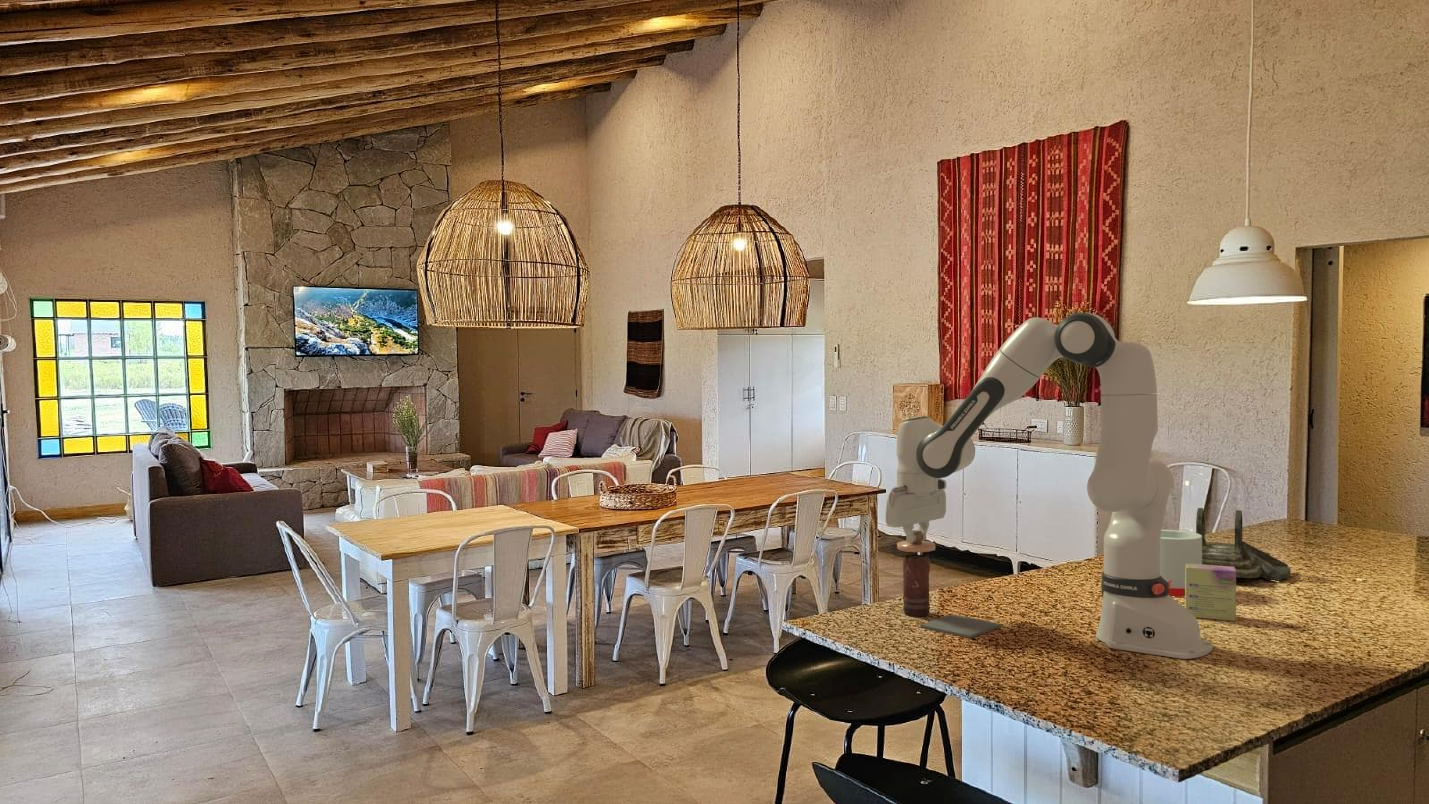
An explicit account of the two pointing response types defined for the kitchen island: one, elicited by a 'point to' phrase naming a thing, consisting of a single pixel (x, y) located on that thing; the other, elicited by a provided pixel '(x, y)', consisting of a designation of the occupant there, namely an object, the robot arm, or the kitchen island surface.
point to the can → (916, 585)
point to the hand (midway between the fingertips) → (916, 541)
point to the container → (1178, 557)
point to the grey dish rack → (1240, 554)
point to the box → (1210, 591)
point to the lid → (916, 544)
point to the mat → (961, 626)
